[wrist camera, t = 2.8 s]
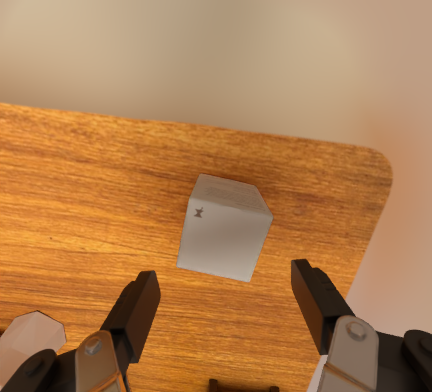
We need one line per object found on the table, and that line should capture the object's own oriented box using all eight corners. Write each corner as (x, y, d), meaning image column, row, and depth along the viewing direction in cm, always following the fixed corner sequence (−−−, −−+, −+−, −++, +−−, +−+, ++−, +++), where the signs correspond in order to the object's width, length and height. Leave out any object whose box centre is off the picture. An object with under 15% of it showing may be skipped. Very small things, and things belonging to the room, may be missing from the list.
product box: (188, 223, 22) (172, 268, 15) (199, 171, 20) (187, 195, 13) (241, 235, 23) (250, 284, 16) (258, 185, 20) (276, 216, 14)
